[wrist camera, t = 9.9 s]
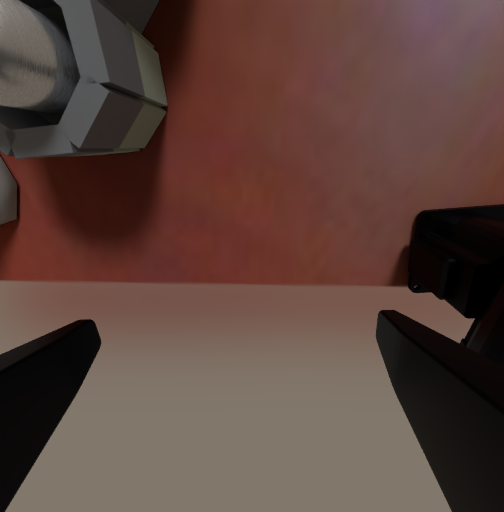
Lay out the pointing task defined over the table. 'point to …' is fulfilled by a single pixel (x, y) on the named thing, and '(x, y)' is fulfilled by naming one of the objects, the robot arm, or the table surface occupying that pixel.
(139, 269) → the table surface
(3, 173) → the flask
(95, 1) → the grey hollow faceted fixture
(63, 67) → the pin
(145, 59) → the pale green bracket
